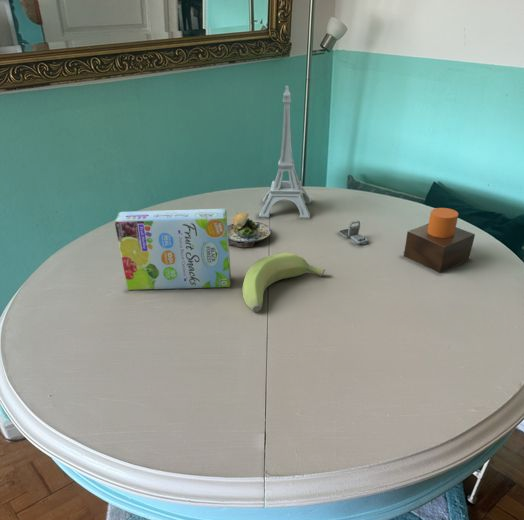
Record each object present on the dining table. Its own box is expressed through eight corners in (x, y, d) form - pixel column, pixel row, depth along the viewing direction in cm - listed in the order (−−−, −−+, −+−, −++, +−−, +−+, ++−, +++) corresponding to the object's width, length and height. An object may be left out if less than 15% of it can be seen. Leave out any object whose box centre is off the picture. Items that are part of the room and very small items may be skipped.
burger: (257, 252, 119) (256, 221, 115) (213, 242, 124) (211, 212, 119) (279, 232, 128) (279, 203, 124) (238, 224, 132) (236, 195, 128)
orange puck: (459, 233, 111) (464, 213, 109) (442, 240, 109) (446, 219, 106) (438, 225, 115) (442, 205, 112) (421, 231, 112) (425, 211, 110)
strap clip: (368, 243, 122) (370, 226, 120) (358, 246, 121) (360, 228, 119) (348, 230, 128) (350, 214, 126) (338, 232, 127) (339, 216, 125)
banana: (229, 253, 103) (317, 245, 110) (225, 274, 107) (310, 265, 114) (254, 299, 95) (346, 287, 103) (249, 320, 99) (338, 307, 107)
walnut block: (469, 259, 115) (475, 234, 111) (439, 272, 110) (445, 246, 106) (432, 244, 121) (437, 219, 118) (403, 256, 116) (407, 231, 113)
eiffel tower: (258, 217, 136) (255, 91, 118) (263, 199, 147) (261, 81, 129) (309, 218, 135) (314, 91, 117) (311, 200, 145) (315, 81, 128)
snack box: (231, 275, 110) (226, 207, 102) (230, 288, 106) (225, 218, 97) (131, 278, 110) (118, 209, 101) (126, 291, 106) (112, 221, 97)
